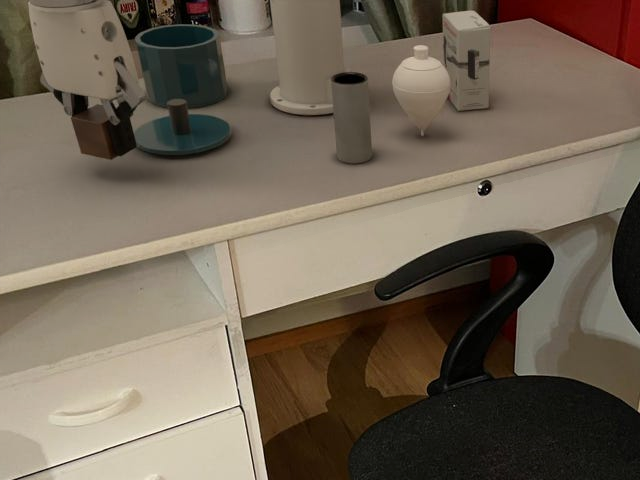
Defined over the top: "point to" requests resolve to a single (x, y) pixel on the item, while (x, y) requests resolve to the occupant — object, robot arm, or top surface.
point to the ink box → (467, 59)
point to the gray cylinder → (351, 117)
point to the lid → (182, 132)
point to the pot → (182, 64)
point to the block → (93, 132)
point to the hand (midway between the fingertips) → (108, 146)
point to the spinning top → (421, 87)
